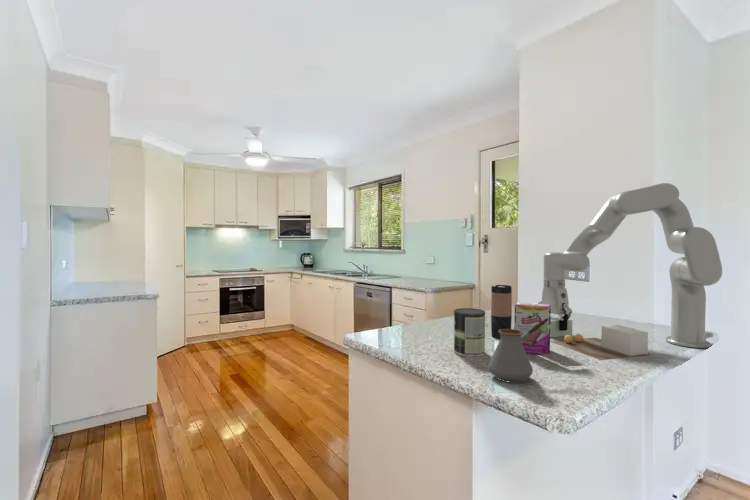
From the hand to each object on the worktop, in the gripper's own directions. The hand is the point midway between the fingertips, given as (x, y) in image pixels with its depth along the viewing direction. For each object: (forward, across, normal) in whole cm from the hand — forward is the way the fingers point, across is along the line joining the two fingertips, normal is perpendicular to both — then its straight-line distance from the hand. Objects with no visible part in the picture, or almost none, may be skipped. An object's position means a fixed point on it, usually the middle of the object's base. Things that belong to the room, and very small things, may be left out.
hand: (554, 327), depth 146 cm
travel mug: (+4, +5, +20) cm, 21 cm away
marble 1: (+1, -12, +4) cm, 13 cm away
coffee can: (+4, -10, +42) cm, 43 cm away
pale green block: (+4, 0, 0) cm, 4 cm away
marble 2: (+1, -12, 0) cm, 12 cm away
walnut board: (+4, -19, -1) cm, 20 cm away
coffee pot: (+4, -33, +38) cm, 51 cm away
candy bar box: (+4, -16, +22) cm, 28 cm away
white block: (+3, -24, -7) cm, 25 cm away
